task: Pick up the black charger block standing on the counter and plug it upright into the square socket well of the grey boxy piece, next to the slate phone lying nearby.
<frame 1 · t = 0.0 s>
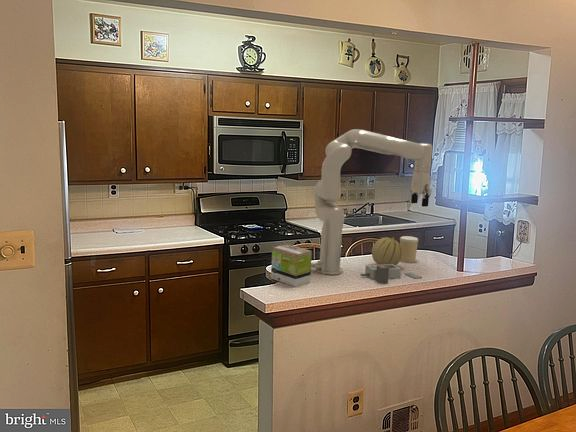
hand: (419, 204, 261), 31 cm above the worktop, tool pointing down, fingers open, 9 cm apart
grey boxy piece: (382, 276, 248), on the worktop
cantaloupe: (385, 267, 265), on the worktop
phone: (412, 277, 250), on the worktop
coffee cup: (407, 261, 278), on the worktop
tea box: (290, 281, 235), on the worktop
charger: (381, 282, 239), on the worktop
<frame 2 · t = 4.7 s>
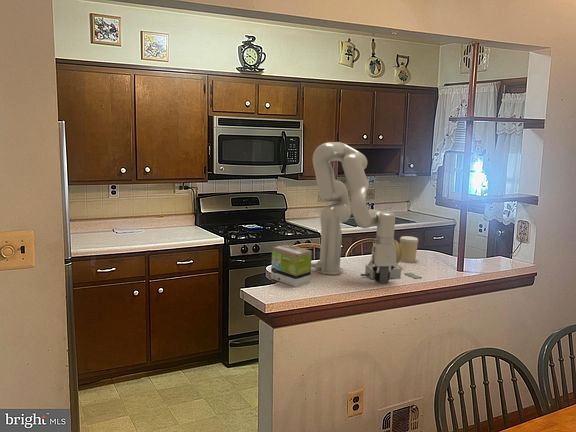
hand: (381, 280, 239), 1 cm above the worktop, tool pointing down, fingers closed on charger, 4 cm apart
charger: (381, 281, 239), on the worktop, touching gripper
everything else where it was.
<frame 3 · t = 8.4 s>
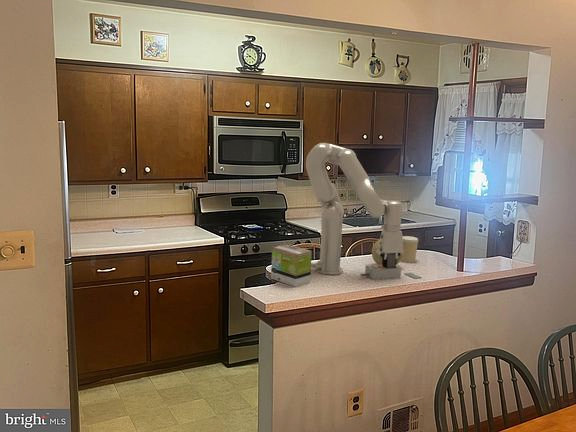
hand: (389, 266, 248), 5 cm above the worktop, tool pointing down, fingers closed on charger, 3 cm apart
charger: (388, 268, 248), point 4 cm above the worktop, touching gripper
everything else where it was.
when the fingers open (5 cm above the worktop, at t = 9.5 s): charger stays where it is, resting on grey boxy piece.
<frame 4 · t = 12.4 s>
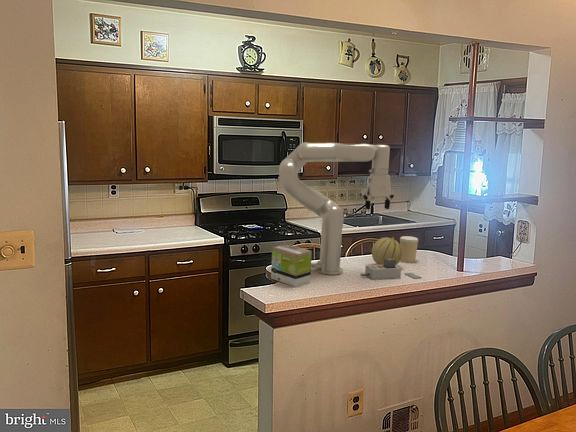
hand: (377, 208, 249), 30 cm above the worktop, tool pointing down, fingers open, 9 cm apart
charger: (388, 273, 249), point 1 cm above the worktop, touching grey boxy piece
everything else where it was.
at the end: charger 0.1 cm from the target spot on the grey boxy piece, point 1.0 cm above the grey boxy piece's base; charger tilted 0°; the gripper is holding nothing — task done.
